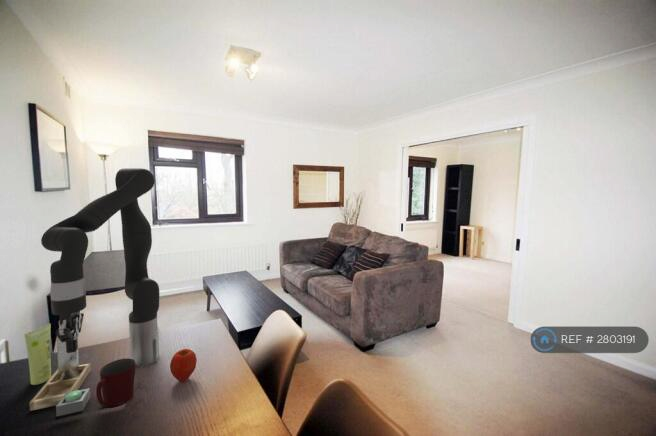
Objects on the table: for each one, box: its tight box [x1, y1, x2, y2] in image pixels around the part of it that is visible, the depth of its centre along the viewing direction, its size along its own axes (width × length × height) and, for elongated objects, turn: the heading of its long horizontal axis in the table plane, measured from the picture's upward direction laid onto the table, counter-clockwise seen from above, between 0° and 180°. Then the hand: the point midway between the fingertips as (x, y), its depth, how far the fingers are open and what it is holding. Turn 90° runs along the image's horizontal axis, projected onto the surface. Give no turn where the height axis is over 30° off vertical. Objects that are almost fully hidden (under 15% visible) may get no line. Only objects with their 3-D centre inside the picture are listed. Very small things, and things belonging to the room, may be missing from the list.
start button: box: [66, 389, 82, 403], centre depth 84 cm, size 4×4×3 cm
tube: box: [24, 323, 52, 386], centre depth 95 cm, size 6×5×20 cm
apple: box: [169, 348, 197, 383], centre depth 98 cm, size 9×8×11 cm
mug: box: [95, 357, 136, 409], centre depth 87 cm, size 12×9×11 cm
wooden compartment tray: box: [29, 362, 92, 412], centre depth 92 cm, size 9×18×4 cm, turn 24°
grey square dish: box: [55, 387, 91, 420], centre depth 84 cm, size 6×6×4 cm
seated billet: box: [56, 336, 80, 381], centre depth 95 cm, size 5×5×16 cm
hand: (72, 351), depth 83 cm, fingers closed
